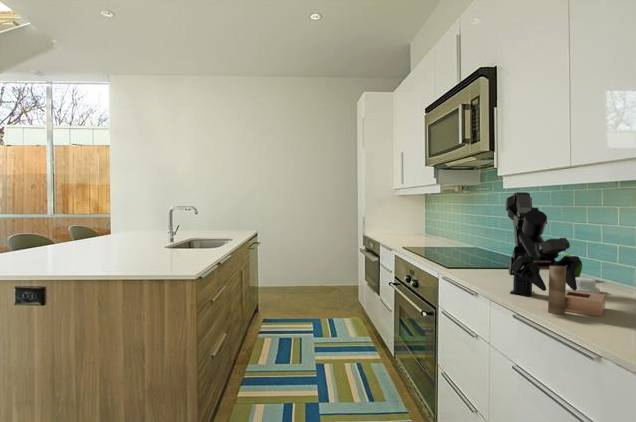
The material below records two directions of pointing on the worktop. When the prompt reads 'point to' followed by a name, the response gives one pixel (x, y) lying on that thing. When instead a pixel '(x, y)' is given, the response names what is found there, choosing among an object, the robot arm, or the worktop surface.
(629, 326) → the worktop surface
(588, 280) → the mechanical component
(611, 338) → the worktop surface
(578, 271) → the bell pepper
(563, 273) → the pin
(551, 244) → the robot arm
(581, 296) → the hollow square frame
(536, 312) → the worktop surface
